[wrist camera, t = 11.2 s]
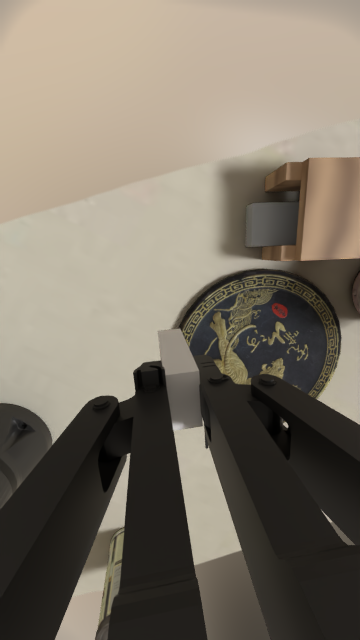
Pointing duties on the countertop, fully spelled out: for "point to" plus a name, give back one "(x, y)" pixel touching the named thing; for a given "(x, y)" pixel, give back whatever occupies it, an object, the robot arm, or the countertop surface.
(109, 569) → the coffee can
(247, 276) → the decorative plate
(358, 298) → the flowerpot
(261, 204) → the grey rectangular block
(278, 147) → the countertop surface
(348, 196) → the wooden u-bracket
